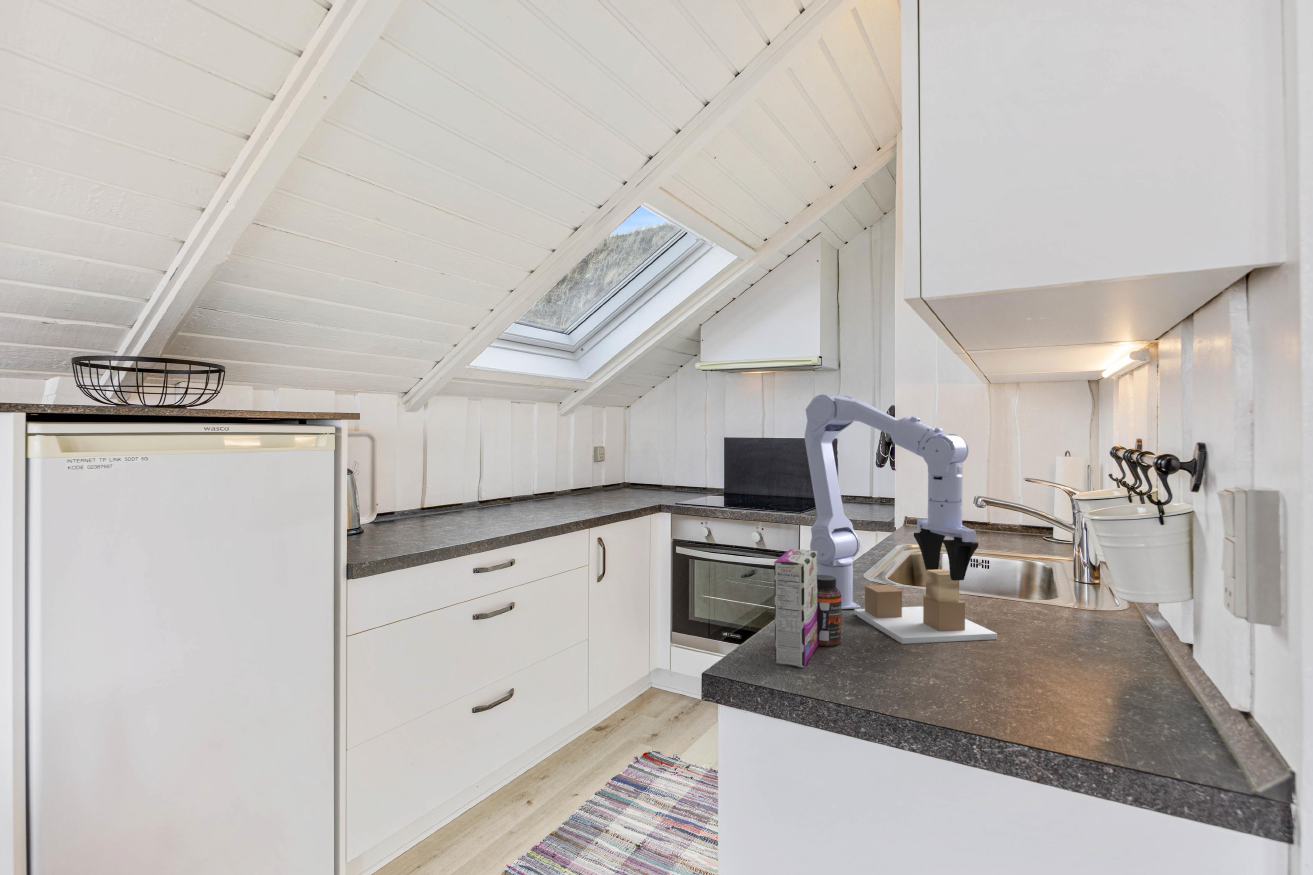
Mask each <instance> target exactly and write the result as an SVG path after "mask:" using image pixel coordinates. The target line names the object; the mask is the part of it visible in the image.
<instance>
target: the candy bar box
mask: <svg viewBox="0 0 1313 875" xmlns="http://www.w3.org/2000/svg"><path fill="white" fill-rule="evenodd" d="M773 568H774V646H775V647H774V652H775V653H774V655H775V656H774V660H775V661H774V662H775V664H777V665H781V666H787V667H793V668H800V669H801V668H802V669H805V668H806V666H807V664H808V663H809V661H810V660H811V659H812V656H813V655H814V653H815V652H816V650H817V649H818V646H819V645H818V614H817V551H811V549H810V550H807V549H798V548H795V549H794V548H793V549H792V548H791V549H789V550H787V551H786V552H785V553H783V555H781V556H780V557H779V558H777V559H776V560H775V561H774V567H773Z"/></svg>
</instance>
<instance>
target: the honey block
mask: <svg viewBox="0 0 1313 875" xmlns="http://www.w3.org/2000/svg"><path fill="white" fill-rule="evenodd" d="M925 596H926V597H927V598H929V599H932V600H934V601H936V602H938V603H944V602H959V600H960V580H957V581H954V580H951V577H950V569H946V568H944V569H939V568H938V570H926V569H925Z"/></svg>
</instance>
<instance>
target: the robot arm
mask: <svg viewBox="0 0 1313 875" xmlns="http://www.w3.org/2000/svg"><path fill="white" fill-rule="evenodd" d="M805 414H806V415H805V416H806V420H807V421H806V427H805V432H804V444H805V451H806V455H807V462H808V468H809V474H810V480H811V485H812V491H813V499H814V503H815V504H814V505H815V510H816V517H817V518H816V520H815V522H814V523H813V524H812V526H811V528H810V531H811V532H810V533H811V540H810V543H809V544H810V545H809V548H810V551H817V575H829V576H833V577H835V578H836V587H837V589H838V590H839V591H840V592H841V601H842V603H841V610H852V609H853V610H854V609H861V605H860V604H858V603H856V602H854V600H853V598H854V597H853V592H854V591H853V590H854V589H853V588H854V587H853V585H854V582H853V578H854V577H853V576H854V575H853V572H854V571H853V570H854V562H855V557H856V556H857V555H858V554H859V552H860V548H861V547H860V546H861V543H860V539H859V536H858V535H857V533H856V532H855V530H854V526H853V523H852V521H851V520H850V519H849V518H848V517H847V516H846V515H845V511H844V505H843V500H842V495H841V490H840V484H839V477H838V471H837V466H836V460H835V454H834V448H833V442H834V440H835V439H836V438H837V436H838V435H839V434H840V433H842V432H843V431H844V430H845V429H846V428H848V427H849V426H851V425H852V424H853V423H854V422H860V423H862V424H865V425H867V426H869V427H872V428H874V429H876V430H878V431H881V432H883V433H886V434H888V435H890V439H891V441H892V443H893V444H894V445H896V446H899V447H900V448H902V449H905V450H907V451H908V452H911V453H913V454H915V455H916V456H917V455H918V456H920V457H921V458H923V460H924V462H925V463H926V465H927V472H928V473H927V484H928V485H927V491H928V492H927V519H926V518H925V519H919V518H917V519H916V530H918V531H917V532H913V537H914V539H915V541H916V542H917V545H918V547H919V549H920V552H921V556H922V560H923V564H924V565H923V566H924V568H925V571H926V570H939V567H940V561H941V551H942V546H943V545H944V547H945V549H946V550H945V551H946V554H947V557H948V565H949V566H948V567H949V569H948V570H949V571H950V577H951V580H954V581H957V580H959V581H964V580H965V577H966V574H967V571H968V568H969V564H970V562H971V559H972V557H973V555H974V553H975V552H976V551H977V549H978V547H979V541H977V531H976V530H974V529H971V528H969V527H967V526H965V525H963V477H964V476H963V464H964V462H965V461H966V460H967V458H968V455H969V446H968V444H967V442H966V441H965V439H963V438H962V437H961V436H960V435H958V434H956V433H948V434H945V433H944V429H943V428H940V427H932V426H930V425H927V424H925V423H923V422H921V421H922V419H921V417H920V418H919V417H917V416H911V417H910V416H905V417H902V418H900V419H898V418H896V417H894V416H892V415H890V414H889V413H886V412H884V411H882V410H880V409H878V408H876V407H874V406H872V405H871V404H869V403H867V402H865V401H863V400H861V399H857V398H853V397H851V396H849V395H843V396H838V395H827V394H818V395H816V396H814V398H812V400H810V402H809V404H808V405H807V406H806V408H805ZM946 537H949V538H952V539H945V538H946Z"/></svg>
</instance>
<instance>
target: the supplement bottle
mask: <svg viewBox="0 0 1313 875" xmlns="http://www.w3.org/2000/svg"><path fill="white" fill-rule="evenodd" d="M841 603H842V601H841V592H840V591H839V590H838V589H837V587H836V578H835V577H833V576H829V575H817V614H818V646H821V647H834V646H837V645H839V644H840V643H841V640H842V609H841Z"/></svg>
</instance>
